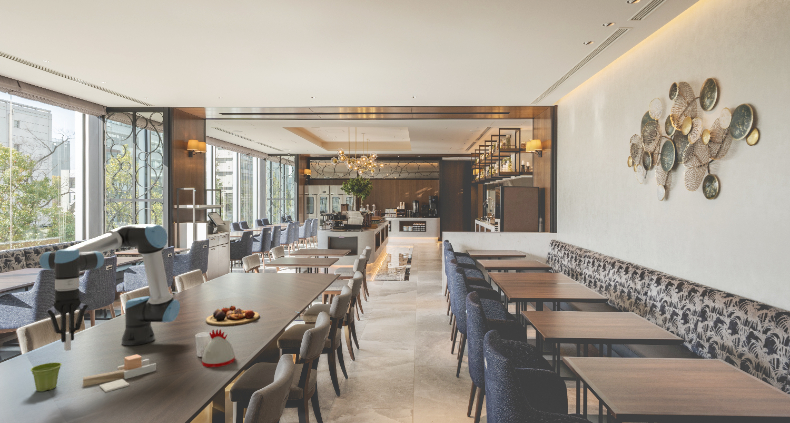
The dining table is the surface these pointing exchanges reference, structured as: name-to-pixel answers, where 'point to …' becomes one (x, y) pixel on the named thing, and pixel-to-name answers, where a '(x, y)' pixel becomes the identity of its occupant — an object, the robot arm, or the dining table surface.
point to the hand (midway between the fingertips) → (67, 349)
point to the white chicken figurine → (218, 351)
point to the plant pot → (46, 376)
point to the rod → (103, 377)
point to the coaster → (114, 385)
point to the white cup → (202, 342)
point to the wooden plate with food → (231, 317)
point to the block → (132, 362)
